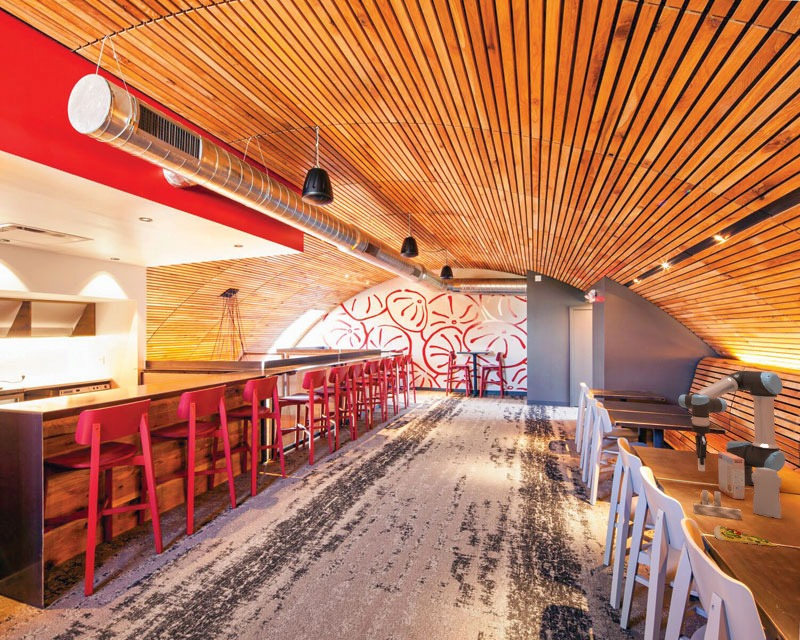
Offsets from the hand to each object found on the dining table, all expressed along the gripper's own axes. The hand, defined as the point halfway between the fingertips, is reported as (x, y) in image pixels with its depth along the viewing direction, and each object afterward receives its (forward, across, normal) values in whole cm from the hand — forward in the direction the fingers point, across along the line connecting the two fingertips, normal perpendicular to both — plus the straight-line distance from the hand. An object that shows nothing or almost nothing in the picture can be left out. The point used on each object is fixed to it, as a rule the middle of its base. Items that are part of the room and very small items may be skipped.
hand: (701, 470), depth 223 cm
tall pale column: (+14, +15, +22) cm, 30 cm away
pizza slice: (+15, +50, +3) cm, 52 cm away
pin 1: (+14, +16, -2) cm, 22 cm away
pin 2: (+14, +16, +2) cm, 22 cm away
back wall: (+14, +25, 0) cm, 29 cm away
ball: (+11, +9, 0) cm, 14 cm away
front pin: (+13, +14, 0) cm, 19 cm away
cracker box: (+14, -12, +16) cm, 24 cm away
